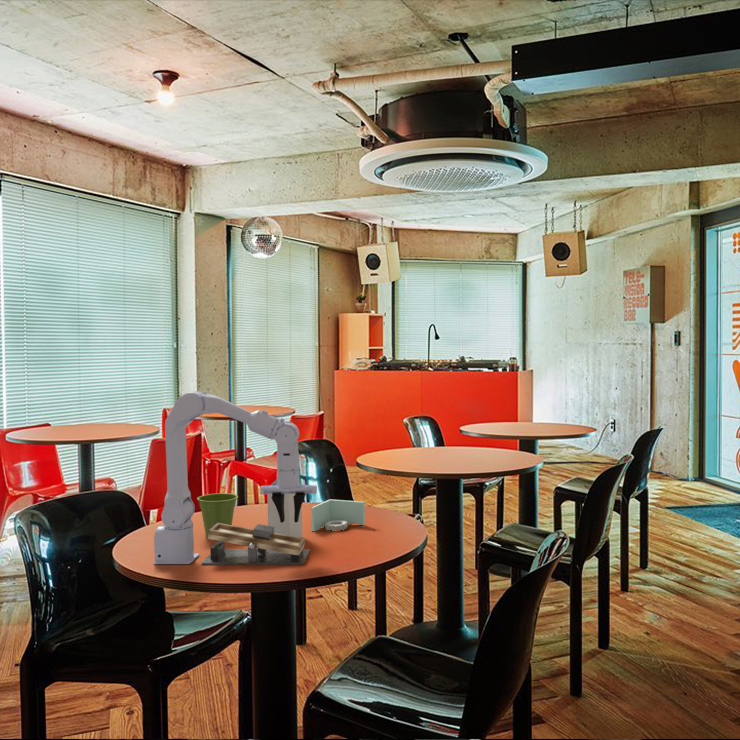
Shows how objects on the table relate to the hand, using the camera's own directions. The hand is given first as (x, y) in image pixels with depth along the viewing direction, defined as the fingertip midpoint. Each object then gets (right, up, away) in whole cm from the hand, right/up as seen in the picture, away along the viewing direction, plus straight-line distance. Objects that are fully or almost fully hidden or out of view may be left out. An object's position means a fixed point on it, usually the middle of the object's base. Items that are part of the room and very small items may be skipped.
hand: (289, 521), depth 177 cm
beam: (-9, -5, +1) cm, 10 cm away
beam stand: (-8, -10, +1) cm, 13 cm away
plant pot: (-24, -10, +25) cm, 36 cm away
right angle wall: (+11, -9, +29) cm, 32 cm away
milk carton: (-3, -9, +18) cm, 21 cm away
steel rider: (-7, -5, +1) cm, 9 cm away
